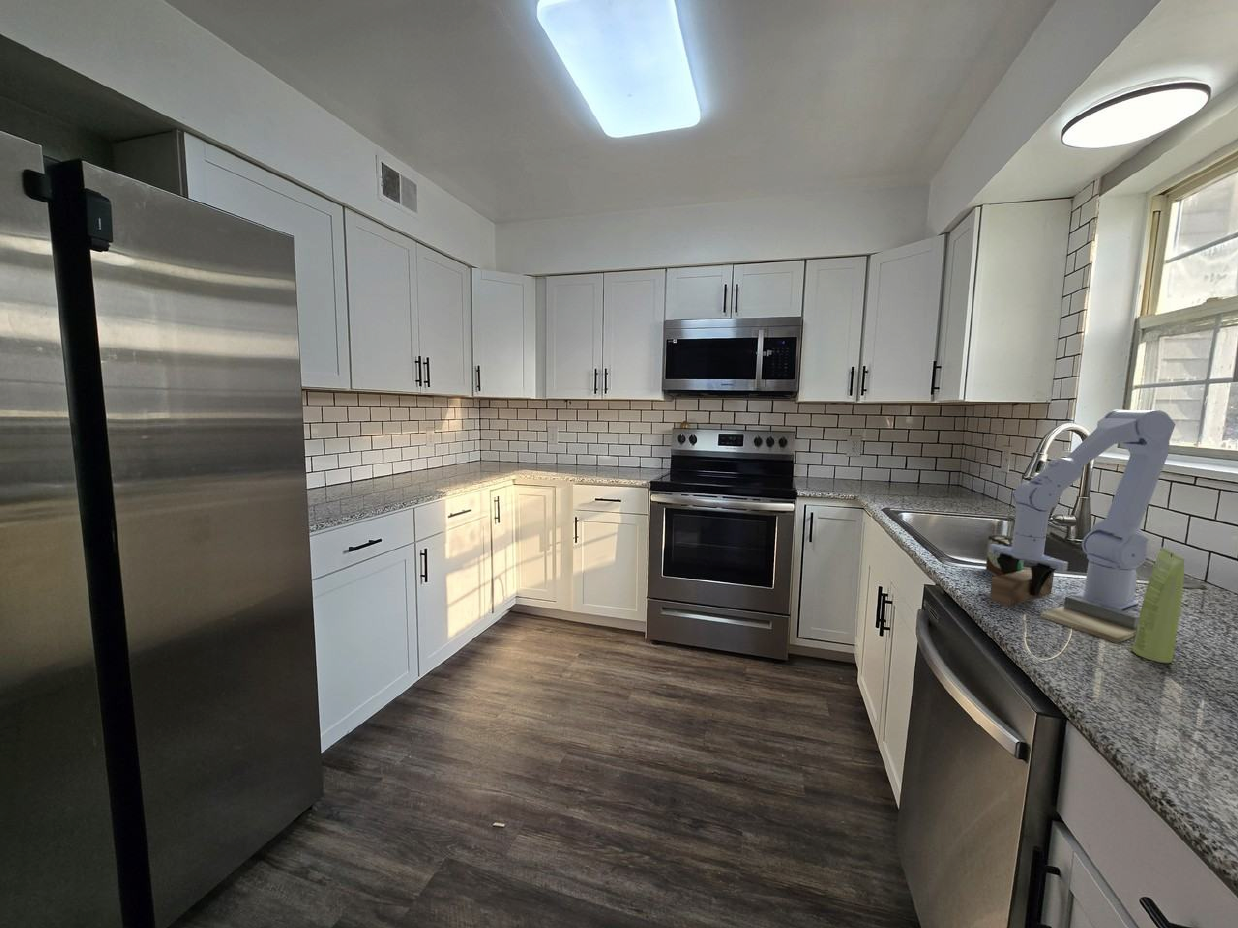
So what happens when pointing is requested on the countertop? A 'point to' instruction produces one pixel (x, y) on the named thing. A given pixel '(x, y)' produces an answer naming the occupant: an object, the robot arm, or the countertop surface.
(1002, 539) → the food container
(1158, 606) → the tube
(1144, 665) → the countertop surface
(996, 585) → the walnut bar
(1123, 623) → the balance stand
